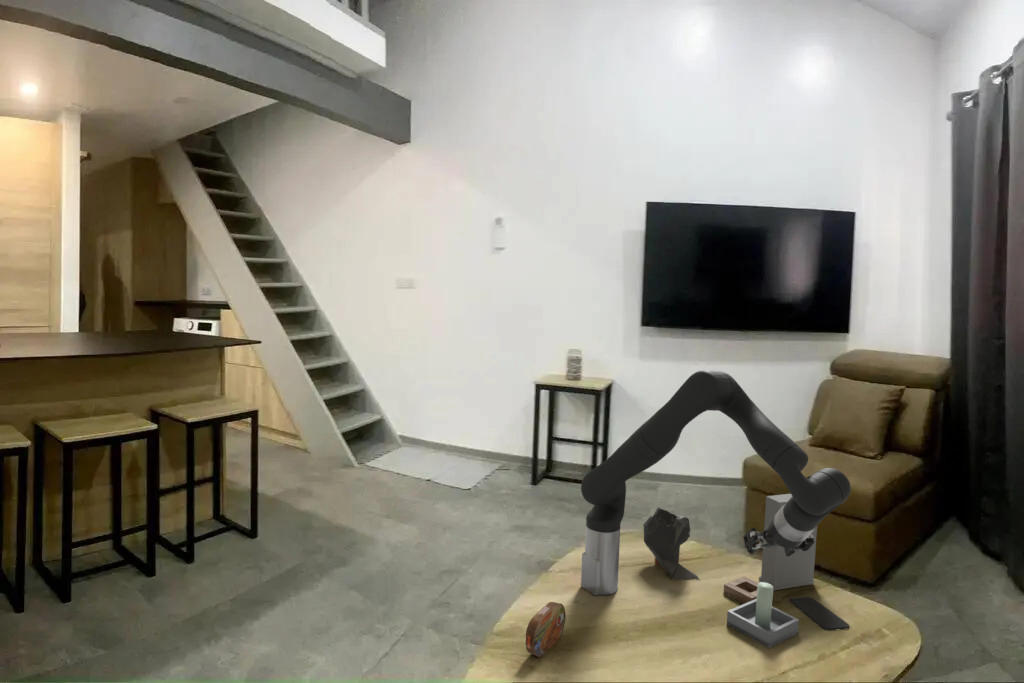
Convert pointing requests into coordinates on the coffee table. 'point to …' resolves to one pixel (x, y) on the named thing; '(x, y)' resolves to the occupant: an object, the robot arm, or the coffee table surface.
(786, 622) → the tray
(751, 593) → the brown hollow square block
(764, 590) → the pale green rounded cylinder
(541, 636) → the tin
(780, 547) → the tall grey upright box
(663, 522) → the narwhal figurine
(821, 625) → the phone
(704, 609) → the coffee table surface
